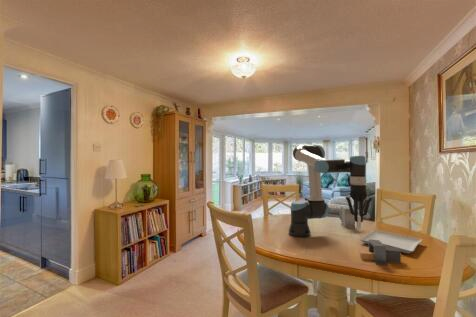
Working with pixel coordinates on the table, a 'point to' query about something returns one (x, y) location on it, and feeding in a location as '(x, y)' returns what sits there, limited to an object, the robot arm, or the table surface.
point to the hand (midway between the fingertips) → (358, 227)
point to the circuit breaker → (346, 217)
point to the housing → (378, 252)
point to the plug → (391, 255)
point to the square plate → (393, 240)
